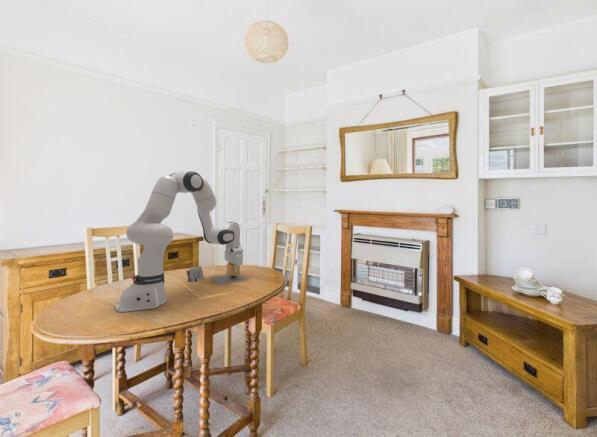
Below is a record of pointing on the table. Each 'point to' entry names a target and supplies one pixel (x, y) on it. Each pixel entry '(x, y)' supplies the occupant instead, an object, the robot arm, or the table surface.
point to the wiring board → (228, 279)
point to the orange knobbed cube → (232, 269)
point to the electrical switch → (195, 274)
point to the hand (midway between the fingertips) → (233, 270)
